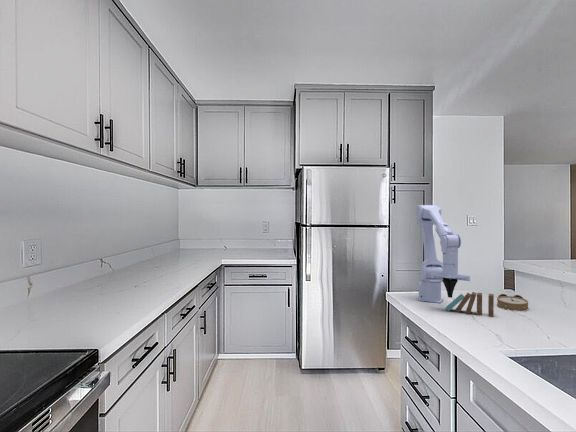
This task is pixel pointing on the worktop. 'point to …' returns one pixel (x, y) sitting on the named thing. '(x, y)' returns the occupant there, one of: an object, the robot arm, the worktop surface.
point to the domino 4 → (491, 305)
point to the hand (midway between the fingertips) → (450, 297)
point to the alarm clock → (512, 302)
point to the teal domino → (454, 302)
